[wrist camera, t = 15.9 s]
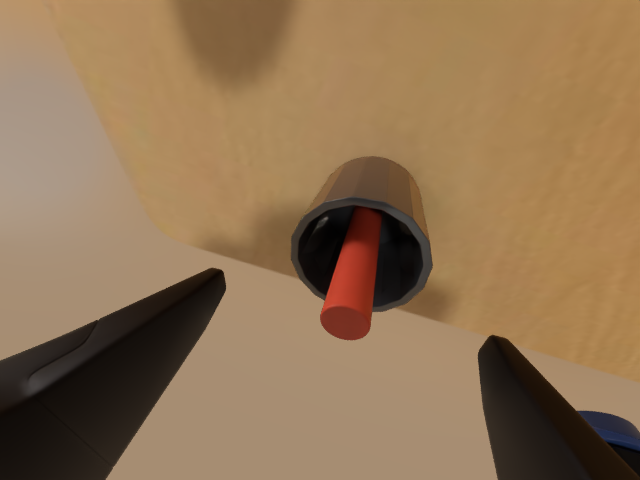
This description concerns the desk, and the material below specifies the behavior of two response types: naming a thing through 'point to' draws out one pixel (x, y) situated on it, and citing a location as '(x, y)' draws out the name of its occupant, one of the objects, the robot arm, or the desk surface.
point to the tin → (395, 236)
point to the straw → (354, 278)
